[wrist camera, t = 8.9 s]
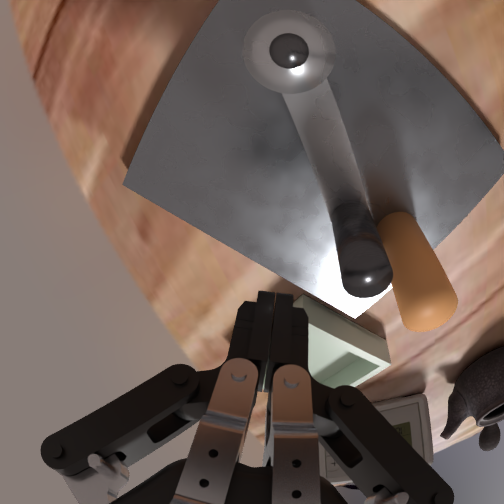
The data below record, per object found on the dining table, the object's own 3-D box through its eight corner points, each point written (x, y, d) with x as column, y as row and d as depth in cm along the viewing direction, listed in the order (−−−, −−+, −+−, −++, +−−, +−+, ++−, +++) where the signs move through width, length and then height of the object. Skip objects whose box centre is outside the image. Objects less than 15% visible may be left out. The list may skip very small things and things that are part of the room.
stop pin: (397, 202, 18) (437, 277, 12) (426, 228, 19) (467, 304, 13) (365, 236, 20) (390, 317, 14) (395, 258, 21) (423, 338, 15)
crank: (235, 33, 14) (199, 17, 8) (311, 6, 12) (323, -28, 6) (332, 265, 22) (340, 344, 16) (390, 249, 20) (417, 324, 15)
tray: (302, 293, 26) (302, 320, 23) (386, 340, 28) (391, 364, 26) (237, 353, 32) (232, 376, 29) (316, 386, 34) (316, 407, 32)
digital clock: (430, 387, 34) (443, 457, 25) (415, 414, 39) (423, 474, 30) (314, 401, 37) (311, 475, 28) (315, 426, 42) (313, 488, 33)
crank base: (262, -45, 12) (260, -53, 10) (501, 156, 16) (511, 163, 15) (131, 176, 21) (122, 184, 20) (353, 306, 26) (355, 318, 25)
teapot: (423, 375, 32) (437, 446, 24) (527, 322, 25) (556, 387, 17) (443, 417, 40) (451, 468, 31) (520, 380, 33) (535, 429, 25)
